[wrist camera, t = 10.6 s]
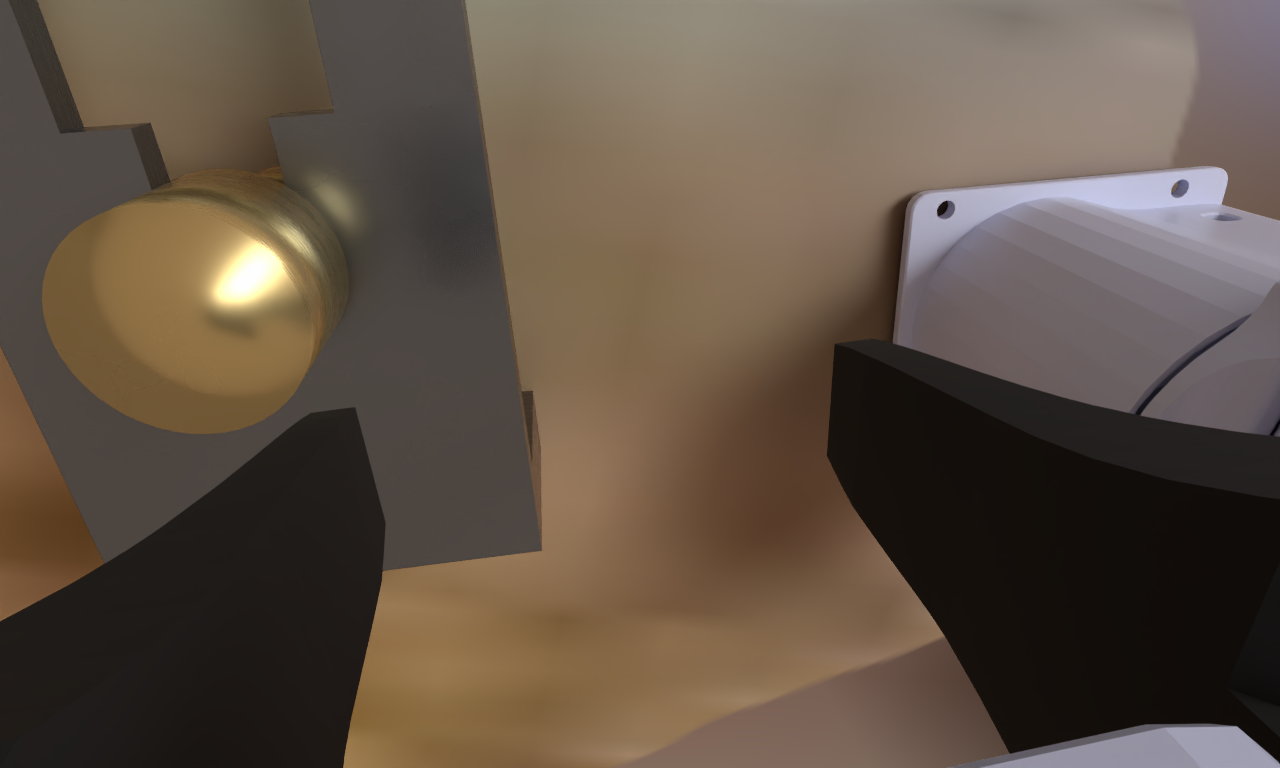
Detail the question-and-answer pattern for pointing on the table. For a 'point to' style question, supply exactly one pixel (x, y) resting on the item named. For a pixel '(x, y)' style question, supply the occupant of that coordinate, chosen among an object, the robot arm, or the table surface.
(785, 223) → the table surface
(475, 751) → the table surface
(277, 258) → the peg
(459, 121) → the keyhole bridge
